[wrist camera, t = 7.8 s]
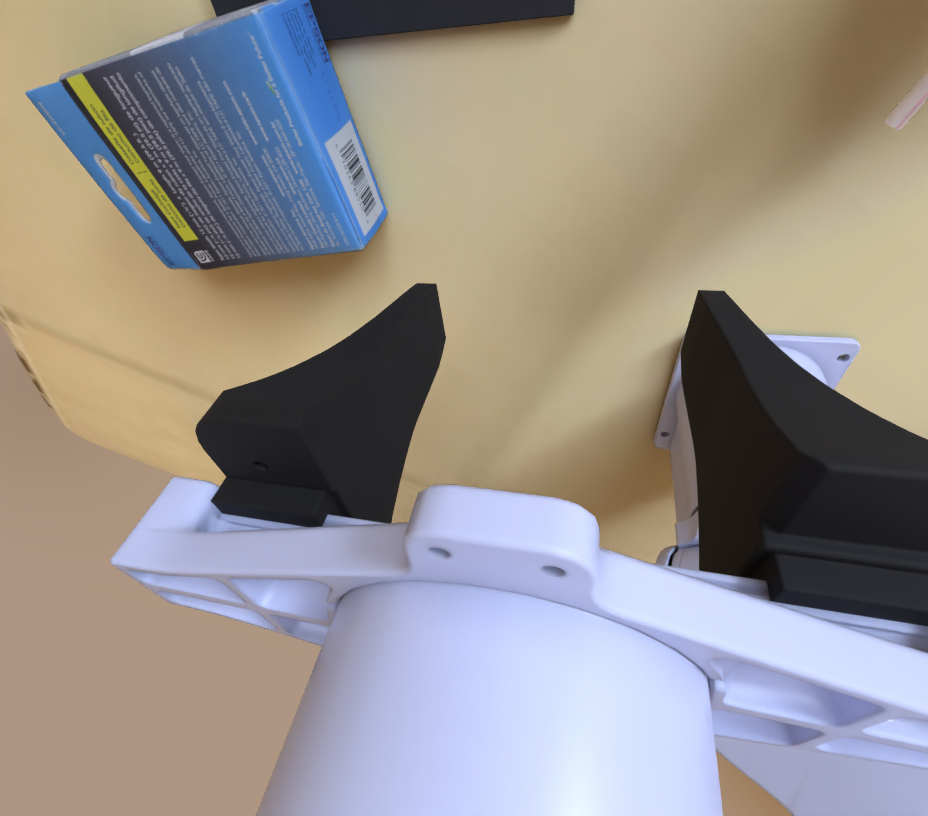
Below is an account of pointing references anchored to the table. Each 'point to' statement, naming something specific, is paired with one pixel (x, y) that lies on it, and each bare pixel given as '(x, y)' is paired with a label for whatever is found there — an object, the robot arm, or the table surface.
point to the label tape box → (225, 140)
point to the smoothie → (909, 104)
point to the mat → (412, 14)
